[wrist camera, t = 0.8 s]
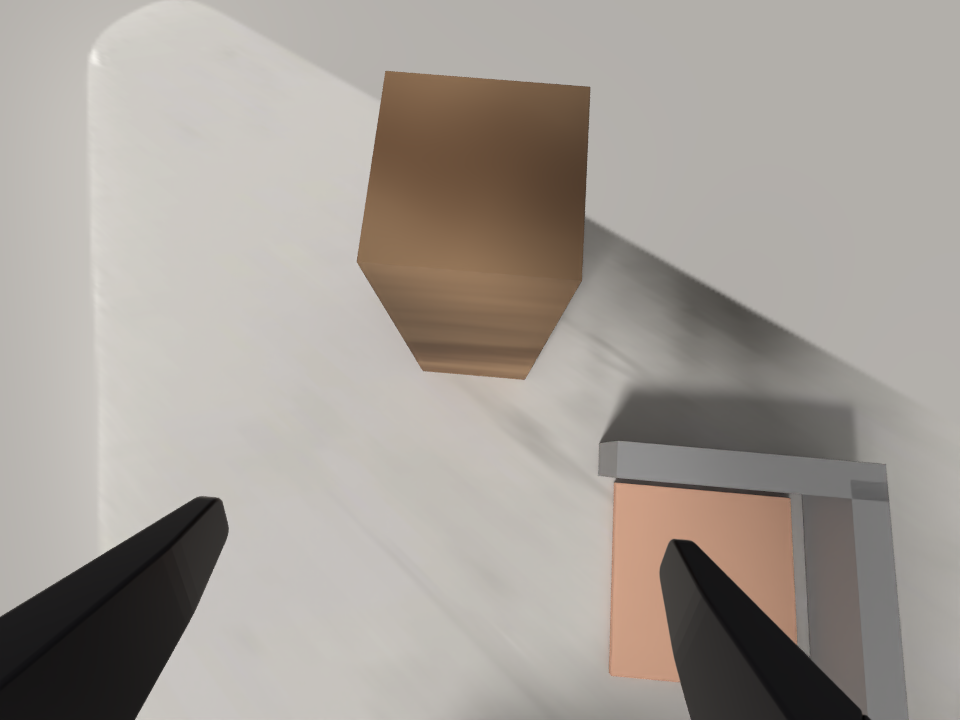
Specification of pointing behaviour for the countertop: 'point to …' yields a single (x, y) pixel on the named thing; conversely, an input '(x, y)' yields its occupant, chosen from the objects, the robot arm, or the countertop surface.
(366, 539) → the countertop surface
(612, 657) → the pad
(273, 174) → the countertop surface
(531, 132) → the walnut block
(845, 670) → the corner bracket
